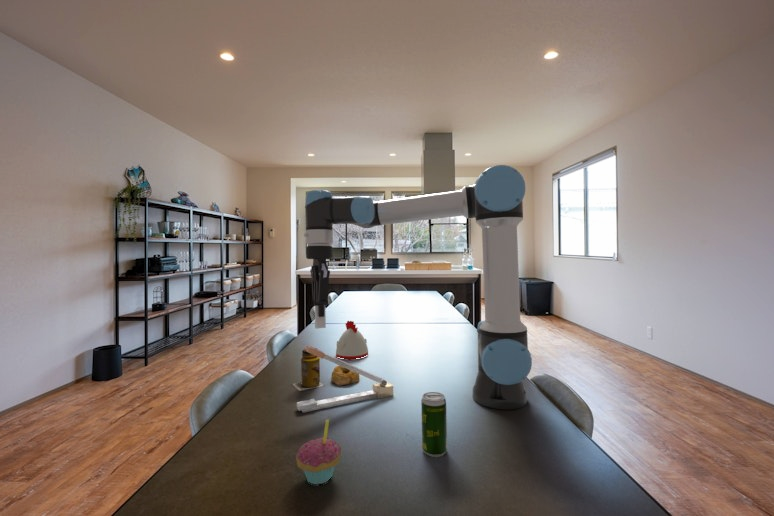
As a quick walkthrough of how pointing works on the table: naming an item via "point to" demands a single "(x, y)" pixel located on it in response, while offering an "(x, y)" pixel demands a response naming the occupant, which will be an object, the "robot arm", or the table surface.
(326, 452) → the cupcake
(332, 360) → the bar
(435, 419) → the beer can
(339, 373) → the bagel
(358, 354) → the kitchen timer
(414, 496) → the table surface
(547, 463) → the table surface
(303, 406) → the base
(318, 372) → the condiment
